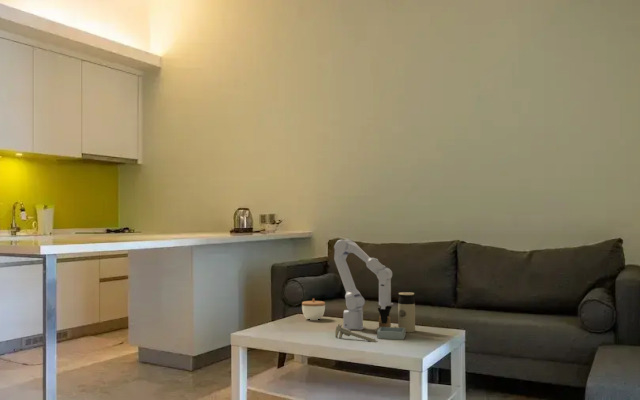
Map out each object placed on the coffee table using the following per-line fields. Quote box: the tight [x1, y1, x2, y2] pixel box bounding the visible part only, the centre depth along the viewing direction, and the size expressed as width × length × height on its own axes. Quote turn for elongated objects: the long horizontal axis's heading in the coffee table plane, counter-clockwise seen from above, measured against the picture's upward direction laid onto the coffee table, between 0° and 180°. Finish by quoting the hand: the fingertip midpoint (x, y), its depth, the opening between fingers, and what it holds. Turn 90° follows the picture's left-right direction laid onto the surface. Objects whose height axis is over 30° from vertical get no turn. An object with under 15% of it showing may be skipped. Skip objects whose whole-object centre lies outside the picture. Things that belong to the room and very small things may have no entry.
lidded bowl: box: [301, 298, 326, 321], centre depth 302 cm, size 13×13×11 cm
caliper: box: [334, 323, 379, 343], centre depth 247 cm, size 20×1×6 cm, turn 60°
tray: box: [376, 326, 407, 340], centre depth 254 cm, size 12×12×3 cm
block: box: [378, 315, 392, 328], centre depth 267 cm, size 5×5×5 cm
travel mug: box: [397, 291, 416, 333], centre depth 268 cm, size 8×8×18 cm
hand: (385, 322), depth 267 cm, fingers closed on block, 5 cm apart
